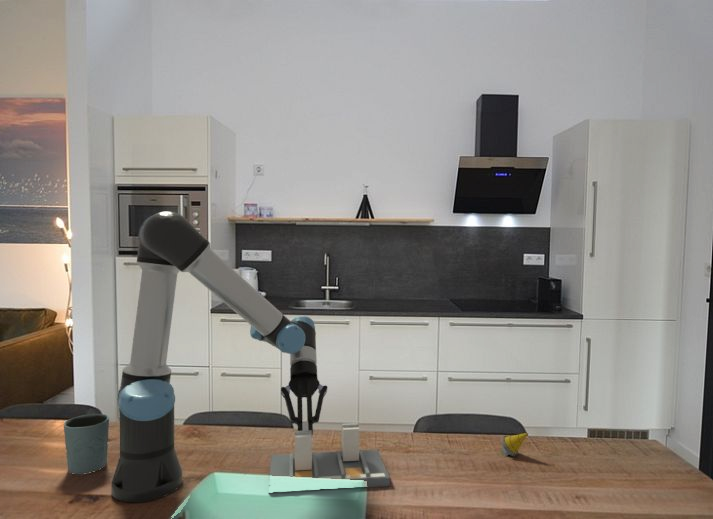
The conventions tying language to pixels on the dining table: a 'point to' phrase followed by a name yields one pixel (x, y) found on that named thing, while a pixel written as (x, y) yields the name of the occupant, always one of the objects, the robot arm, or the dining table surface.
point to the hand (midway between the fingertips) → (305, 448)
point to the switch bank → (335, 467)
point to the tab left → (303, 450)
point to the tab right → (350, 442)
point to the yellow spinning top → (512, 444)
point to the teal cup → (86, 442)
